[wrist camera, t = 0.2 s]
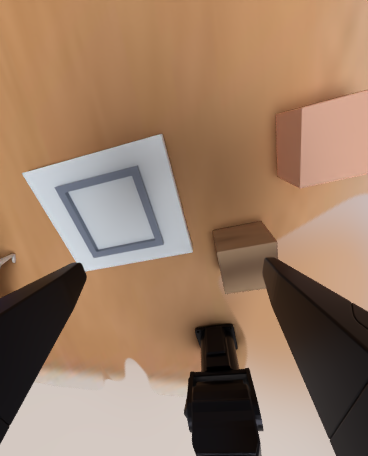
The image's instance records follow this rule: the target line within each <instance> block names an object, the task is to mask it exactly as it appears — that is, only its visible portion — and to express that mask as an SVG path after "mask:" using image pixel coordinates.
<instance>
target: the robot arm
mask: <svg viewBox="0 0 368 456" xmlns="http://www.w3.org/2000/svg"><path fill="white" fill-rule="evenodd" d="M262 275H263V279H264V282H265V285H266V289H267V292H268V295H269V299H270V302H271V305H272V308H273V310H274V313H275V315H276V317H277V319H278V322H279V324H280V326H281V329H282V331H283V333H284V336H285V338H286V340H287V343H288V345H289V347H290V350H291V352H292V354H293V356H294V359H295V361H296V363H297V366H298V368H299V370H300V373H301V375H302V377H303V380H304V382H305V384H306V387H307V389H308V391H309V394H310V396H311V398H312V400H313V402H314V405H315V407H316V410H317V412H318V414H319V417H320V419H321V421H322V423H323V426H324V428H325V430H326V433H327V435H328V437H329V439H330V442H331V445H332V447H333V449H334V452H335V454H336V456H368V311H366V310H364V309H363V308H361V307H359V306H357V305H355V304H354V303H351V302H350V301H349V300H347V299H345V298H343V297H342V296H340V295H338V294H337V293H335V292H333V291H331V290H330V289H328V288H326V287H324V286H323V285H321V284H319V283H317V282H316V281H314V280H313V279H311V278H309V277H307V276H306V275H304V274H302V273H300V272H299V271H297V270H295V269H294V268H292V267H290V266H288V265H287V264H285V263H283V262H282V261H280V260H278V259H276V258H275V257H266V258H265V259H264V263H263V270H262ZM86 278H87V276H86V273H85V270H84V267H83V265H82V263H71V264H69V265H67V266H65V267H63V268H61V269H59V270H57V271H55V272H53V273H51V274H48V275H46V276H44V277H42V278H40V279H38V280H36V281H34V282H32V283H30V284H28V285H26V286H24V287H22V288H20V289H18V290H16V291H14V292H12V293H10V294H8V295H6V296H4V297H2V298H0V443H1V442H2V440H3V438H4V436H5V434H6V432H7V430H8V429H9V425H10V424H11V423H12V421H13V419H14V417H15V416H16V414H17V412H18V410H19V408H20V406H21V405H22V403H23V401H24V399H25V397H26V395H27V393H28V392H29V390H30V388H31V386H32V384H33V383H34V381H35V379H36V377H37V375H38V373H39V372H40V370H41V368H42V366H43V364H44V362H45V361H46V359H47V357H48V355H49V353H50V351H51V350H52V348H53V346H54V344H55V342H56V340H57V339H58V337H59V335H60V333H61V331H62V329H63V328H64V326H65V324H66V322H67V320H68V318H69V317H70V315H71V313H72V311H73V309H74V307H75V305H76V303H77V300H78V298H79V296H80V293H81V291H82V289H83V286H84V284H85V282H86ZM195 333H196V336H197V339H198V342H199V345H200V348H201V372H190V378H189V379H188V392H187V399H186V404H185V409H184V415H185V416H186V418H187V420H188V426H189V430H190V432H192V445H193V448H194V451H195V453H196V456H261V447H260V439H259V434H258V431H263V424H262V419H261V414H260V410H259V405H258V401H257V397H256V393H255V389H254V385H253V382H252V378H251V374H250V370H249V368H245V369H239V365H238V360H237V354H236V349H238V347H237V342H236V337H235V332H234V327H233V325H232V324H226V325H218V326H209V327H200V328H196V329H195Z"/></svg>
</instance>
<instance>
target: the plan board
mask: <svg viewBox="0 0 368 456" xmlns="http://www.w3.org/2000/svg"><path fill="white" fill-rule="evenodd" d="M22 174H23V176H24V177H25V179H26V181H27V182H28V184H29V186H30V187H31V189H32V191H33V192H34V194H35V195H36V197H37V199H38V200H39V202H40V204H41V205H42V207H43V209H44V210H45V212H46V213H47V215H48V217H49V218H50V220H51V222H52V223H53V225H54V227H55V228H56V230H57V231H58V233H59V235H60V236H61V238H62V240H63V241H64V243H65V245H66V246H67V248H68V249H69V251H70V253H71V254H72V256H73V258H74V259H75V261H76V263H82V265H83V267H84V270H85V271H91V270H96V269H102V268H107V267H113V266H119V265H124V264H130V263H135V262H141V261H147V260H152V259H158V258H163V257H169V256H175V255H180V254H186V253H191V252H193V247H192V243H191V239H190V235H189V232H188V228H187V224H186V220H185V217H184V213H183V209H182V205H181V202H180V198H179V194H178V190H177V187H176V183H175V179H174V175H173V172H172V168H171V164H170V160H169V157H168V153H167V149H166V145H165V142H164V138H163V134H159V135H155V136H152V137H148V138H145V139H141V140H138V141H134V142H131V143H127V144H124V145H120V146H117V147H113V148H110V149H106V150H102V151H99V152H95V153H92V154H88V155H85V156H81V157H78V158H74V159H71V160H67V161H64V162H60V163H57V164H53V165H49V166H46V167H42V168H39V169H35V170H32V171H28V172H25V173H22Z"/></svg>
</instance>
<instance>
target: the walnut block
mask: <svg viewBox="0 0 368 456" xmlns="http://www.w3.org/2000/svg"><path fill="white" fill-rule="evenodd" d="M213 236H214V241H215V247H216V252H217V257H218V262H219V266H220V271H221V276H222V281H223V286H224V291H225V294H229V293H236V292H244V291H251V290H258V289H265V288H266V285H265V282H264V279H263V275H262V270H263V263H264V259H265V258H266V257H275V258H276V259H278V252H277V241H276V239H275V238H274V237H273V236H272V234H271V233H270V232H269V230H268V229H267V228H266V226H265V225H264V224H263V223H262V221H259V222H254V223H249V224H244V225H239V226H233V227H228V228H223V229H218V230H213Z"/></svg>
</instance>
